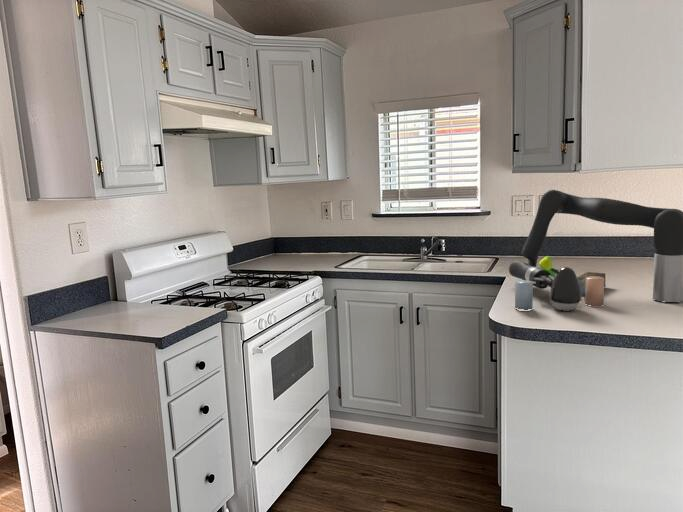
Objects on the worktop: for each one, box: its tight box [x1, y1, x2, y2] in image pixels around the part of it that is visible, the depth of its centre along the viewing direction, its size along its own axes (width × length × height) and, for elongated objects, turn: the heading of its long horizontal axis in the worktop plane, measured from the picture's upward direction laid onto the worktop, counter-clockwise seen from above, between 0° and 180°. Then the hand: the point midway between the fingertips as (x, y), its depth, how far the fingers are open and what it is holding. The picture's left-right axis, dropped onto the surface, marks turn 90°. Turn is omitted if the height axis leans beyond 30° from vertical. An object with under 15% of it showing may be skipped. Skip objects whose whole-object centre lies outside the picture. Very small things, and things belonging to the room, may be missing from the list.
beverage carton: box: [577, 271, 606, 296], centre depth 210 cm, size 8×19×7 cm, turn 136°
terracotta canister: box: [584, 276, 605, 307], centre depth 188 cm, size 6×6×10 cm
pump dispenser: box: [548, 266, 582, 312], centre depth 183 cm, size 10×10×15 cm
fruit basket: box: [538, 255, 559, 277], centre depth 234 cm, size 11×9×11 cm
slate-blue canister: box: [514, 279, 534, 310], centre depth 187 cm, size 6×6×10 cm
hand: (558, 285), depth 188 cm, fingers closed
